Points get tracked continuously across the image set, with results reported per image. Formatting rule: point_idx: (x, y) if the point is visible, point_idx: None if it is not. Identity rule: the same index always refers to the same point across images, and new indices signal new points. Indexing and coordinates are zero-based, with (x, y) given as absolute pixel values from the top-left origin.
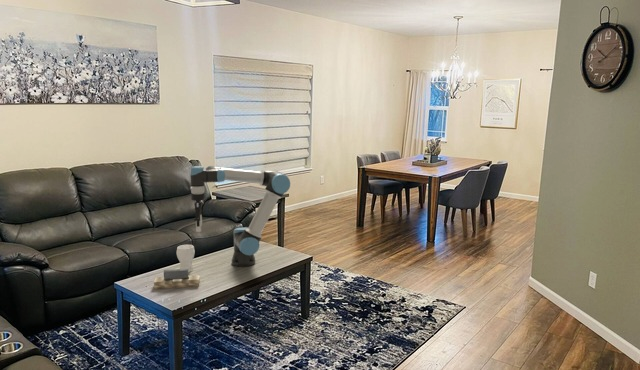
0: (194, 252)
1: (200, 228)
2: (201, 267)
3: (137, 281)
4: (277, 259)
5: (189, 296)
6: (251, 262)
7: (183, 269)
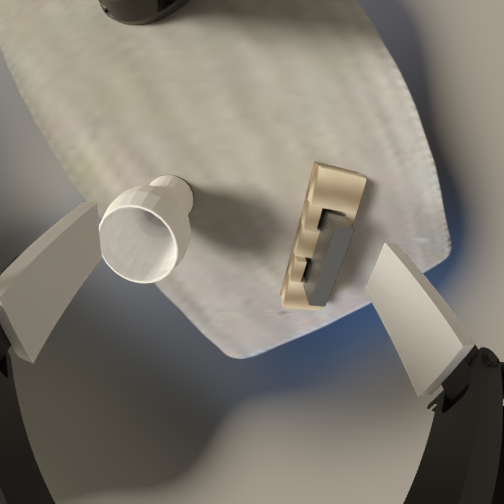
0: (151, 189)
1: (415, 269)
2: (149, 140)
3: (236, 330)
4: None
5: (412, 213)
6: None
7: (337, 244)
